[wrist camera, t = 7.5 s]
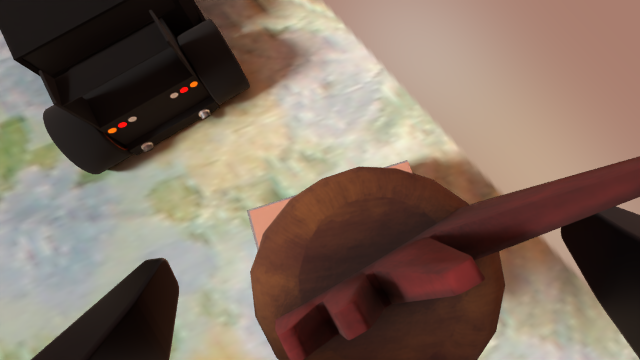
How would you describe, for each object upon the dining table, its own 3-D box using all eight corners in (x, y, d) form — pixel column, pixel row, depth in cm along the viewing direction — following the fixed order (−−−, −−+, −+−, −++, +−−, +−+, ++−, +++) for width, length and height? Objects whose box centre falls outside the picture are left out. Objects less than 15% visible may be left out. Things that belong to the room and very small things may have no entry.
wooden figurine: (417, 198, 18) (794, -133, 3) (442, 327, 16) (1347, 880, 2) (275, 217, 18) (-32, -5, 3) (288, 347, 16) (-134, 1012, 2)
